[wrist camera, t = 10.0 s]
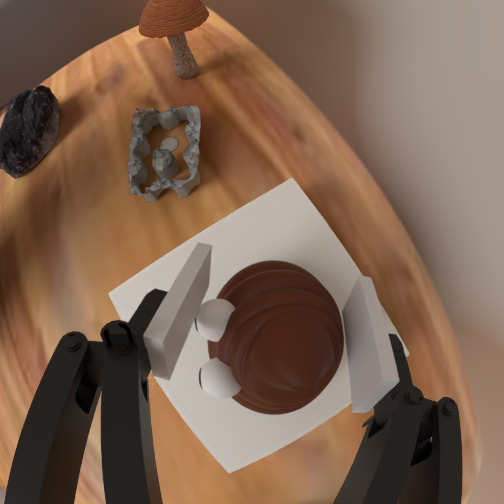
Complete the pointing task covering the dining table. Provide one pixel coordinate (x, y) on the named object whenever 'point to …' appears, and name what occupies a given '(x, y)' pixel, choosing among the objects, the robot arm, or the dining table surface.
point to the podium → (222, 269)
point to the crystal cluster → (28, 130)
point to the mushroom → (174, 28)
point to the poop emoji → (270, 338)
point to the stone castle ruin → (163, 151)
